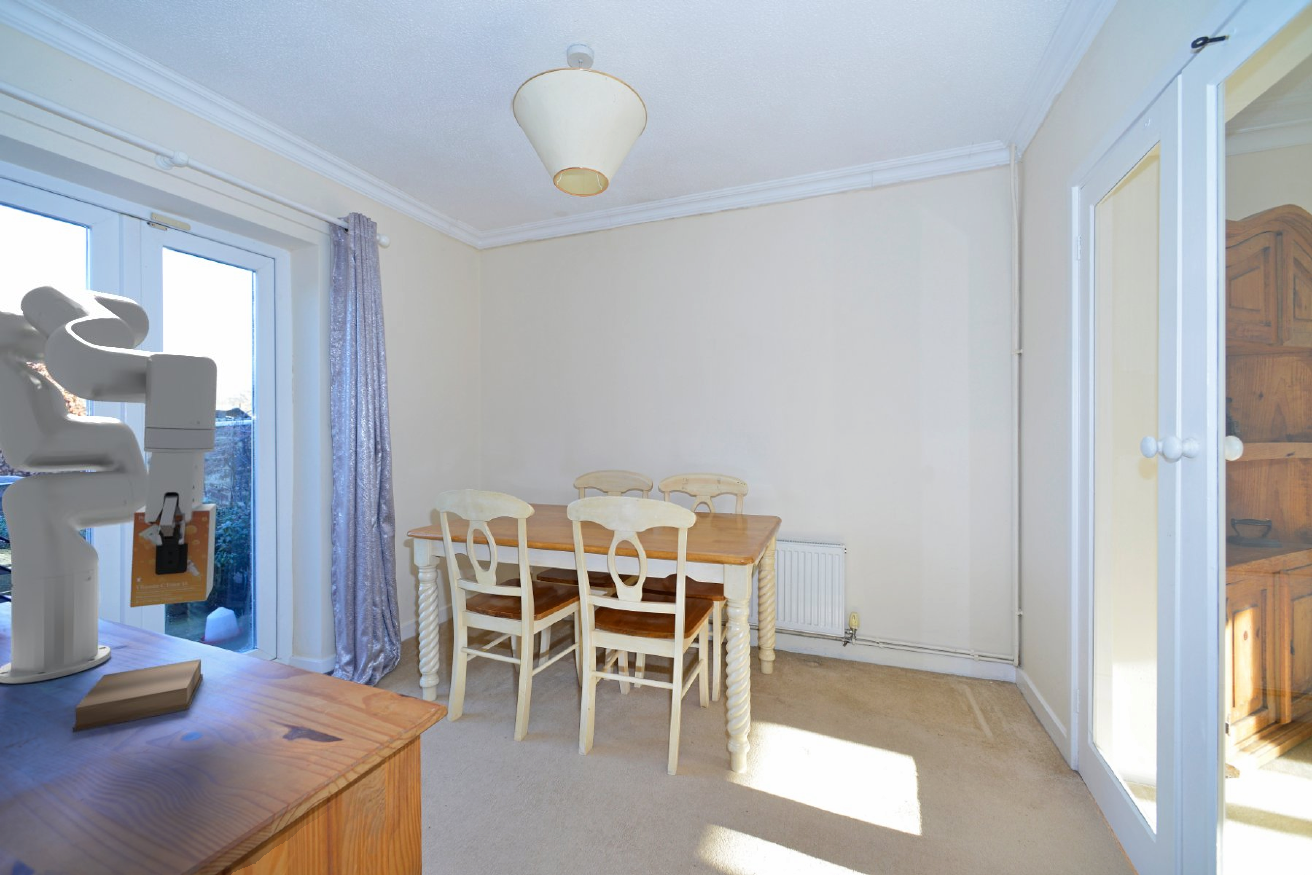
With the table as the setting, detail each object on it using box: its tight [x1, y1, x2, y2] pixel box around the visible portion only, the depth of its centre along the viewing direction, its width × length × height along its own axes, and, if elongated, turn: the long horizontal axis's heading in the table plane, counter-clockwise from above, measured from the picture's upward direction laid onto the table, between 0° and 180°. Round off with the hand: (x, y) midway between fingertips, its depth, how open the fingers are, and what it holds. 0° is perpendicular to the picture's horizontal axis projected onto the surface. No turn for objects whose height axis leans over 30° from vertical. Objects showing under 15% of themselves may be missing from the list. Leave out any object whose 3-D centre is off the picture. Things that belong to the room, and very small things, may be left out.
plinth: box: [72, 659, 204, 733], centre depth 77 cm, size 11×11×3 cm
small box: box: [129, 503, 217, 608], centre depth 77 cm, size 8×6×13 cm
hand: (176, 565), depth 77 cm, fingers closed on small box, 6 cm apart
